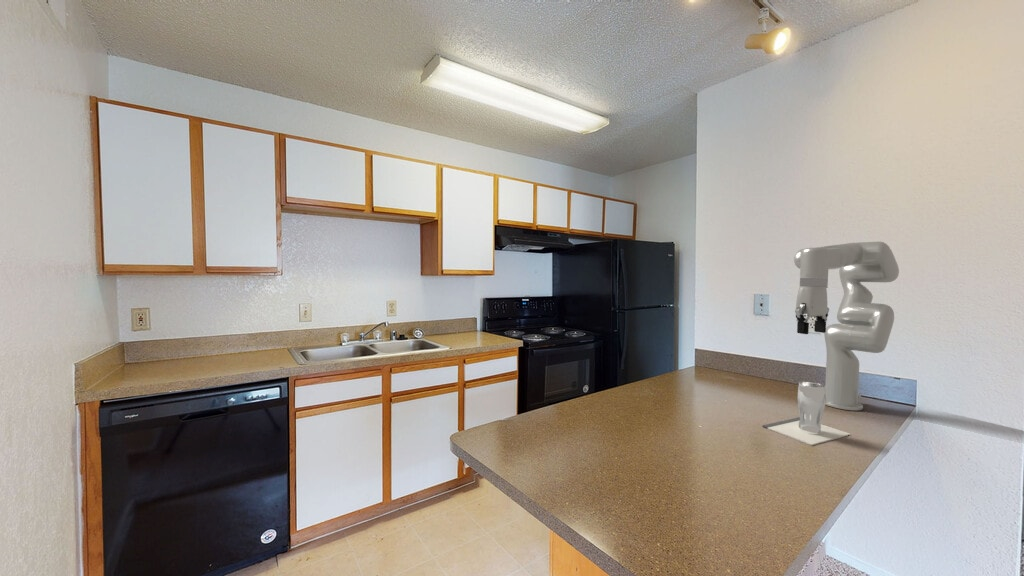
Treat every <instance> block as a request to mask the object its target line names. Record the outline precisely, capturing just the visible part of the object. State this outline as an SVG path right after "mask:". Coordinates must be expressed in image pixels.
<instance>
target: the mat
mask: <svg viewBox="0 0 1024 576" xmlns="http://www.w3.org/2000/svg"><path fill="white" fill-rule="evenodd" d="M799 421H800V416H799V417H798V416H797V417H794V418H790V419H786V420H781V421H776V422H772V423H771V422H770V423H767V424H764V425H762V428H764V429H767V430H769V431H773V432H775V433H778V434H780V435H783V436H785V437H788V438H790V439H793V440H795V441H798V442H801V443H803V444H805V445H806V444H807V445H809V446H815V445H819V444H822V443H827V442H830V441H832V440H837V439H841V438H845V437H847V436H848V435H849V436H851V433H849V432H846V431H844V430H841V429H837V428H834V427H830V426H828V425H825V424H822V423H821V428H822V434H821V435H814V434H809V433H805V432H802V431H800V430H799V429H798V425H799Z"/></svg>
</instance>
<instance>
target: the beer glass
mask: <svg viewBox="0 0 1024 576" xmlns="http://www.w3.org/2000/svg"><path fill="white" fill-rule="evenodd" d="M825 401H826V393H825V385H823V384H821V383H818V382H817V383H816V382H813V381H798V387H797V405H798V411H799V413H798V414H799V417H800V421H799V425H798V429H799V430H800V431H802V432H805V433H809V434H814V435H821V434H822V428H821V424H822V418H823V415H824V410H825V408H826V405H825Z"/></svg>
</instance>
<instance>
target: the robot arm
mask: <svg viewBox="0 0 1024 576" xmlns="http://www.w3.org/2000/svg"><path fill="white" fill-rule="evenodd" d="M793 262H794V265H795V267H797V268H798V269H800V271H799V288H798V290H797V297H796V302H795V303H796V304H795V309H794V313H795V318H796V322H797V324H796V325H797V327H796V333H797V334H801V335H809V329H810V328H809V327H810V323H809V322H808V321H809V320H810V318H813V317H814V318H815V320H814V327H813V331H814V332H815V333H822V334H824V342H825V349H826V359H825V360H826V364H825V385H824V386H825V393H826V401H825V406H828V407H832V408H834V409H835V408H836V409H838V410H845V411H862V410H863V409H864V406H863V404H861V403H859V400H860V399H861V398H862V394H860V393H859V383H860V382H859V380H860V379H859V378H860V361H859V357H858V356H857V355H856V354H855V353H854V352H853V351H857V352H865V353H871V354H879V353H883V351H885V349H886V347H887V345H888V341H889V338H890V335H891V332H892V329H893V325H894V322H895V312H894V309H893V308H892V307H891V306H890V305H888V304H884V303H875V302H874V303H873V302H872V301H873V297H874V296H873V293H872V292H871V291H870V290H869V289H868V288H867V287H866V286H865V285H863V284H862V283H892V282H895V281H896V280H897V279H898V277H899V275H900V274H899V273H900V268H899V265H898V262H897V260H896V258H895V255H894V253H893V251H892V249H891V247H890V246H889V245H888V244H887V243H885V242H883V241H865V242H863V241H861V242H847V243H842V244H841V243H840V244H832V245H831V244H830V245H825V246H818V247H805V248H801V249H799V250H798V251H797V252H796V253H795V255H794V257H793ZM838 269H839V272H838V273H839V280H840V283H841V286H842V289H843V296H842V299H841V303H840V304H839V308H838V311H837V313H836V319H837V322H838V323H832V324H828V326H827V322H828V316H829V312H830V308H829V307H828V291H827V289H828V288H829V287H828V286H829V270H838Z"/></svg>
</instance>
